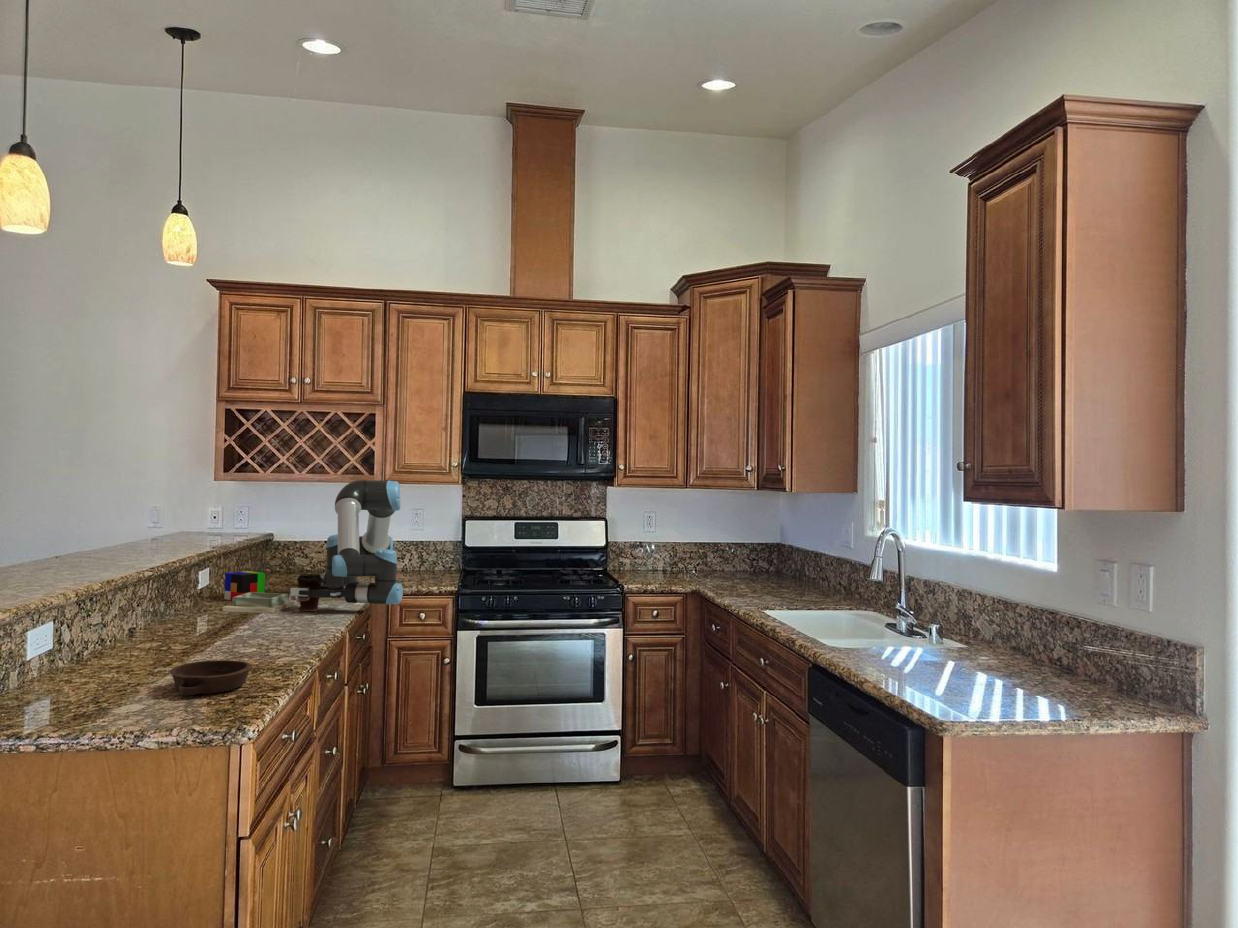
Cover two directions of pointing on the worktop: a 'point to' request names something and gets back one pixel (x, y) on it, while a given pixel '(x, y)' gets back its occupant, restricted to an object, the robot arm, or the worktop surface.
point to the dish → (210, 676)
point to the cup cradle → (259, 603)
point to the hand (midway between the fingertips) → (295, 590)
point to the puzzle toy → (243, 583)
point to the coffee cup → (313, 583)
